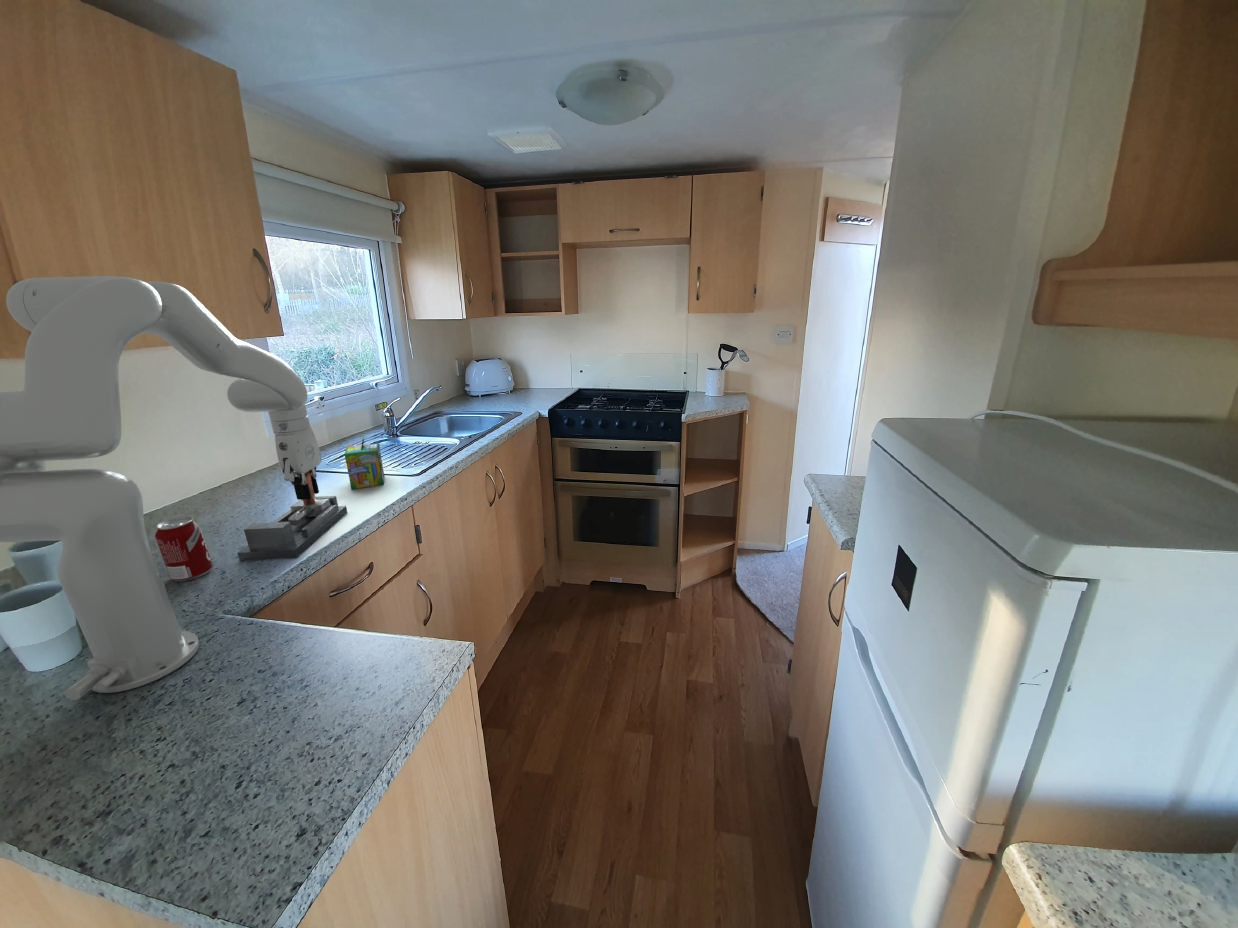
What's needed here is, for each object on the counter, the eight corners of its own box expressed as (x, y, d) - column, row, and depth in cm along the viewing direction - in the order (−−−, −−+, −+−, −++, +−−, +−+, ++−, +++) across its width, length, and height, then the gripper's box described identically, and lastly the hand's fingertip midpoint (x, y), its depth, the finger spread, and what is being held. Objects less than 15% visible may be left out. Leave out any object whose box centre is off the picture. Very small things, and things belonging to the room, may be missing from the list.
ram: (310, 526, 115) (300, 483, 112) (278, 528, 115) (267, 485, 111) (331, 509, 125) (322, 469, 121) (301, 510, 124) (291, 470, 121)
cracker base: (296, 558, 105) (289, 529, 103) (239, 560, 105) (230, 531, 102) (347, 512, 128) (342, 488, 126) (300, 514, 127) (294, 490, 125)
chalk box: (353, 480, 152) (344, 435, 147) (385, 476, 155) (377, 431, 151) (350, 490, 144) (340, 442, 139) (384, 485, 147) (375, 439, 142)
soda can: (189, 585, 96) (170, 531, 92) (162, 582, 97) (142, 528, 93) (222, 567, 102) (205, 516, 98) (196, 565, 103) (179, 514, 100)
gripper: (287, 433, 108) (306, 508, 113) (324, 416, 123) (339, 484, 129) (252, 434, 107) (273, 510, 113) (294, 417, 123) (310, 485, 128)
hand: (308, 495), depth 121 cm, fingers closed on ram, 2 cm apart
